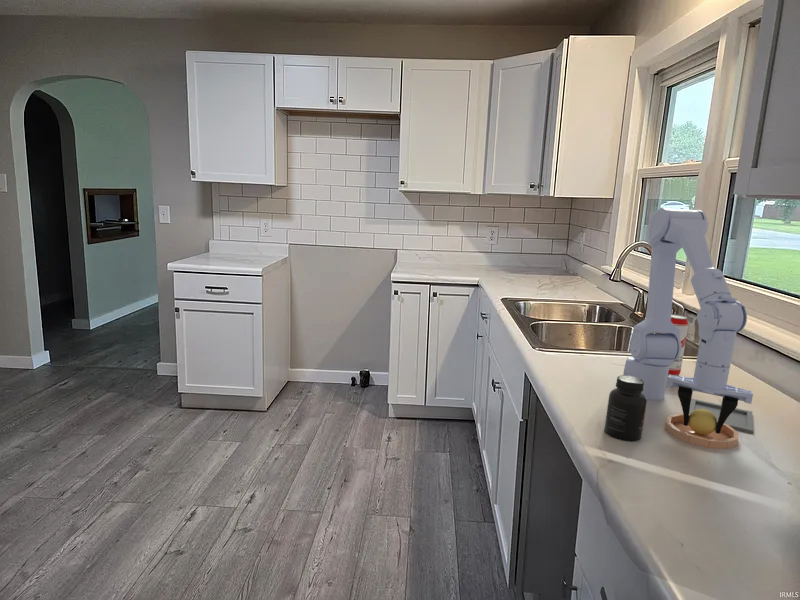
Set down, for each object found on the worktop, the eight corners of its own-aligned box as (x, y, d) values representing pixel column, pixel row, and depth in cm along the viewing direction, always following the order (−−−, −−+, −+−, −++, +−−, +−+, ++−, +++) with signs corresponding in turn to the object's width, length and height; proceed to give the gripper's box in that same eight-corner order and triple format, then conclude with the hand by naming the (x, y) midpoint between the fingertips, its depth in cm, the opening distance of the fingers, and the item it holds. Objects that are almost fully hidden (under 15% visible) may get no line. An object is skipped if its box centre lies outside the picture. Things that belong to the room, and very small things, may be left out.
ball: (685, 434, 108) (689, 410, 107) (687, 425, 112) (691, 402, 111) (714, 441, 106) (718, 417, 105) (715, 432, 110) (719, 409, 109)
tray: (685, 421, 117) (687, 415, 116) (690, 404, 127) (691, 398, 126) (752, 437, 111) (753, 430, 110) (751, 417, 121) (752, 411, 120)
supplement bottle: (648, 444, 105) (657, 385, 102) (615, 445, 104) (624, 385, 101) (628, 429, 111) (636, 372, 109) (597, 429, 110) (604, 373, 108)
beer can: (684, 375, 147) (694, 317, 144) (671, 379, 144) (681, 319, 140) (662, 368, 152) (671, 312, 149) (649, 371, 149) (658, 314, 145)
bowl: (661, 439, 107) (663, 429, 107) (668, 418, 118) (670, 408, 117) (736, 458, 101) (738, 447, 100) (736, 434, 111) (738, 424, 111)
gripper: (669, 359, 106) (659, 424, 109) (758, 376, 99) (744, 445, 102) (673, 351, 112) (663, 413, 115) (757, 366, 105) (743, 432, 108)
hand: (701, 427), depth 109 cm, fingers closed on ball, 5 cm apart
